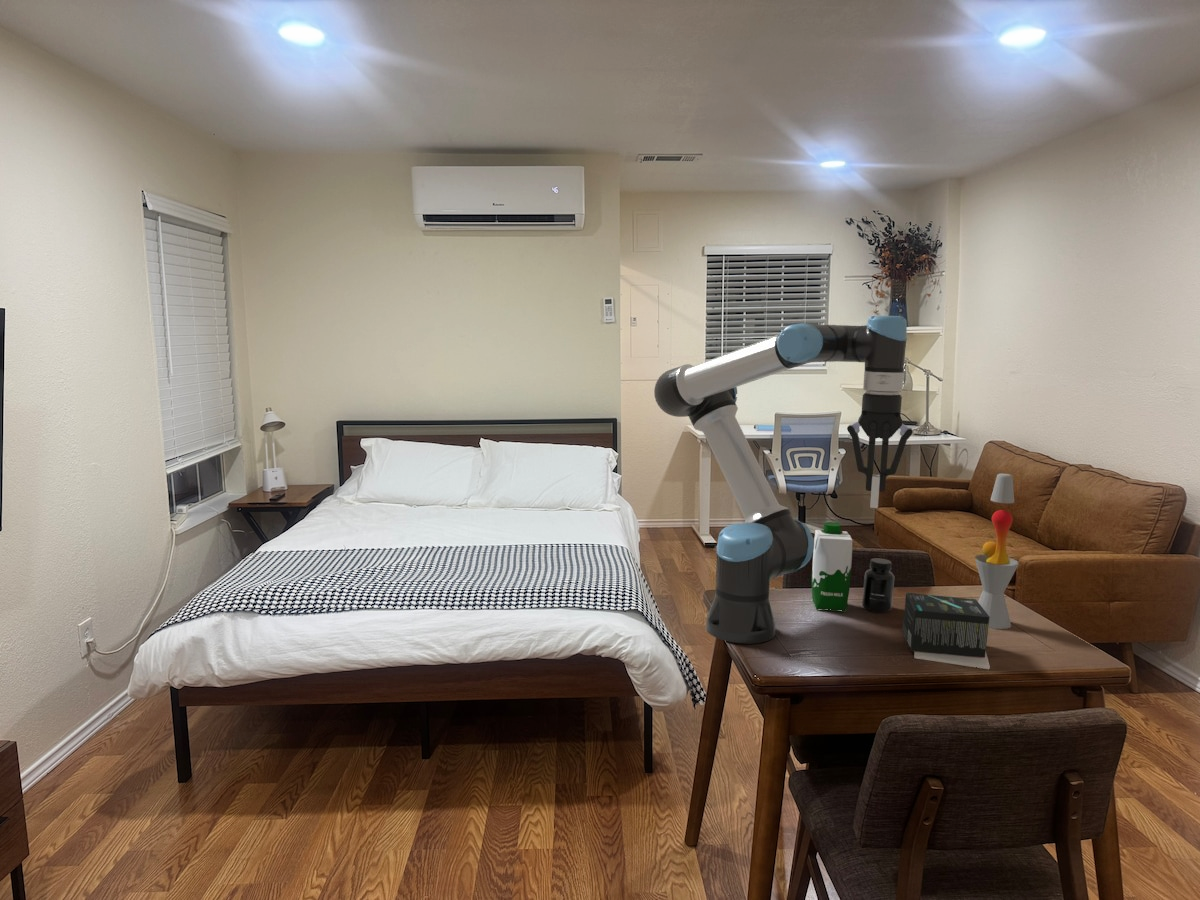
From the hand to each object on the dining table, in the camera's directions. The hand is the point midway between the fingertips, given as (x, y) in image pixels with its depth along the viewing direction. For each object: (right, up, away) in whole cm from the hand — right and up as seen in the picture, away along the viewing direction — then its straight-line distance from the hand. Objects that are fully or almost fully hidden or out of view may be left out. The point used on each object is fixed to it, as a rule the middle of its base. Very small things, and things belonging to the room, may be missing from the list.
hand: (874, 506), depth 163 cm
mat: (+17, -31, +2) cm, 35 cm away
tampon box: (+9, -25, +5) cm, 27 cm away
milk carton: (-1, -27, +29) cm, 39 cm away
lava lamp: (+34, -29, +20) cm, 49 cm away
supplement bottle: (+10, -27, +28) cm, 40 cm away
